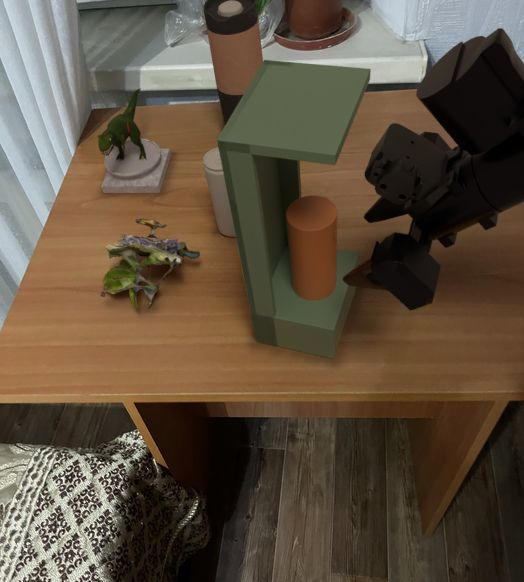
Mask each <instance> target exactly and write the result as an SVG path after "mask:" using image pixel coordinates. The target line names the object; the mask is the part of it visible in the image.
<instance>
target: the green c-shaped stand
mask: <svg viewBox="0 0 524 582" xmlns="http://www.w3.org/2000/svg"><path fill="white" fill-rule="evenodd" d="M370 81H371V68H365V67H353V66H351V67H350V66H341V65H329V64H319V63H318V64H317V63H308V62H307V63H306V62H305V63H304V62H295V61H294V62H293V61H283V60H272V59H271V60H270V59H263V63H262V64H261V66H260V68H259V70H258V71H257V73H256V75H255V76H254V78H253V80H252V81H251V83H250V85H249V86H248V88H247V90H246V91H245V93H244V95H243V97H242V98H241V100H240V102H239V103H238V105H237V107H236V108H235V110H234V112H233V113H232V115H231V117H230V118H229V120H228V122H227V123H226V125H225V124H224V126H223V128H222V131H220V134H219V135H218V137H217V138H216V142H217V148H219V153H220V159H221V164H222V169H223V174H224V179H225V184H226V189H227V194H228V199H229V205H230V210H231V215H232V220H233V225H234V230H235V235H236V237H235V240H236V245H237V250H238V251H237V252H238V255H239V260H240V266H241V271H242V275H243V280H244V286H245V291H246V295H247V301H248V302H247V303H248V307H249V312H250V316H251V321H252V326H253V332H254V337H255V341H256V343H260V344H265V345H269V346H274V347H278V348H281V349H285V350H286V349H287V350H292V351H296V352H300V353H304V354H308V355H313V356H316V357H317V356H318V357H322V358H326V359H331V360H334V359H335V356H336V353H337V350H338V347H339V344H340V341H341V338H342V335H343V332H344V328H345V325H346V322H347V319H348V316H349V313H350V310H351V306H352V303H353V300H354V297H355V294H356V291H357V288H358V287H355V286H349V285H347V284H346V283H345V282H344V281H343V277H344V276H345V275H346V274H348V273H349V272H350V271H352V270H353V269H355V268H356V267H358V266H359V265H360V252H356V251H350V250H344V249H338V248H337V270H336V287H335V290H334V291H333V292H332V293H331V294H330V295H329V296H328V297H326V298H324V299H320V300H307V299H304V298H301V297H300V296H298V295H297V294H296V293H295V292H294V290H293V287H292V278H291V267H290V255H289V244H288V233H287V221H286V211H287V209H288V207H289V205H290V204H291V203H292V202H294V201H295V200H297V199H299V198H301V197H303V196H302V182H301V181H302V180H301V164H300V163H301V162H307V163H315V164H322V165H328V166H336V165H337V162H338V160H339V158H340V154H341V152H342V149H343V148H344V146H345V144H346V140H347V137H348V135H349V132H350V130H351V127H352V126H353V122H354V120H355V117H356V115H357V113H358V110H359V108H360V106H361V104H362V101H363V99H364V95H365V93H366V91H367V88H368V85H369V83H370Z"/></svg>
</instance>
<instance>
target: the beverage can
mask: <svg viewBox="0 0 524 582" xmlns="http://www.w3.org/2000/svg"><path fill="white" fill-rule="evenodd" d="M202 160H203V161H202V163H203V172H204V176H205V180H206V183H207V184H206V185H207V188H208V192H209V196H210V199H211V203H212V208H213V213H214V217H215V221H216V225H217V229H218V231H219V233H220V234H222V235H224V236H225V237H228V238H236V235H235V230H234V225H233V220H232V215H231V210H230V205H229V199H228V194H227V189H226V184H225V179H224V174H223V169H222V164H221V159H220V153H219V148H218V147H214V148H212V149H210V150H208V151H207V152H206V153H205V155H204V156H203V158H202Z"/></svg>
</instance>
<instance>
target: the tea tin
mask: <svg viewBox="0 0 524 582" xmlns="http://www.w3.org/2000/svg"><path fill="white" fill-rule="evenodd" d="M286 221H287V233H288V244H289V255H290V267H291V278H292V287H293V290H294V292H295V293H296V294H297V295H298V296H300V297H301V298H304V299H307V300H320V299H324V298H326V297H328V296H329V295H330V294H331V293H332V292H333V291H334V290H335V287H336V270H337V249H338V209H337V206H336V204H335V203H334V202H333V201H332V200H331V199H329V198H327V197H324V196H321V195H304V196H302V197H301V198H299V199H297V200H295V201H294V202H292V203H291V204H290V205H289V207H288V209H287V211H286Z"/></svg>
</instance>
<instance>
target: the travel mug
mask: <svg viewBox="0 0 524 582" xmlns="http://www.w3.org/2000/svg"><path fill="white" fill-rule="evenodd" d="M257 3H258V2H257V0H205V2H204V3H203V14H204V15H203V16H204V21H205V26H206V32H207V39H208V43H209V44H208V45H209V50H210V56H211V63H212V69H213V73H214V79H215V86H216V91H217V96H218V99H219V104H220V110H221V114H222V119H223V123H224V126H225V125H226V123H227V122H228V120H229V118H230V117H231V115H232V113H233V112H234V110H235V108H236V107H237V105H238V103H239V102H240V100H241V98H242V97H243V95H244V93H245V91H246V90H247V88H248V86H249V85H250V83H251V81H252V80H253V78H254V76H255V75H256V73H257V71H258V70H259V68H260V66H261V64H262V63H263V61H264V57H263V49H262V48H263V46H262V40H261V31H260V30H261V29H260V21H259V12H258V4H257Z"/></svg>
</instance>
